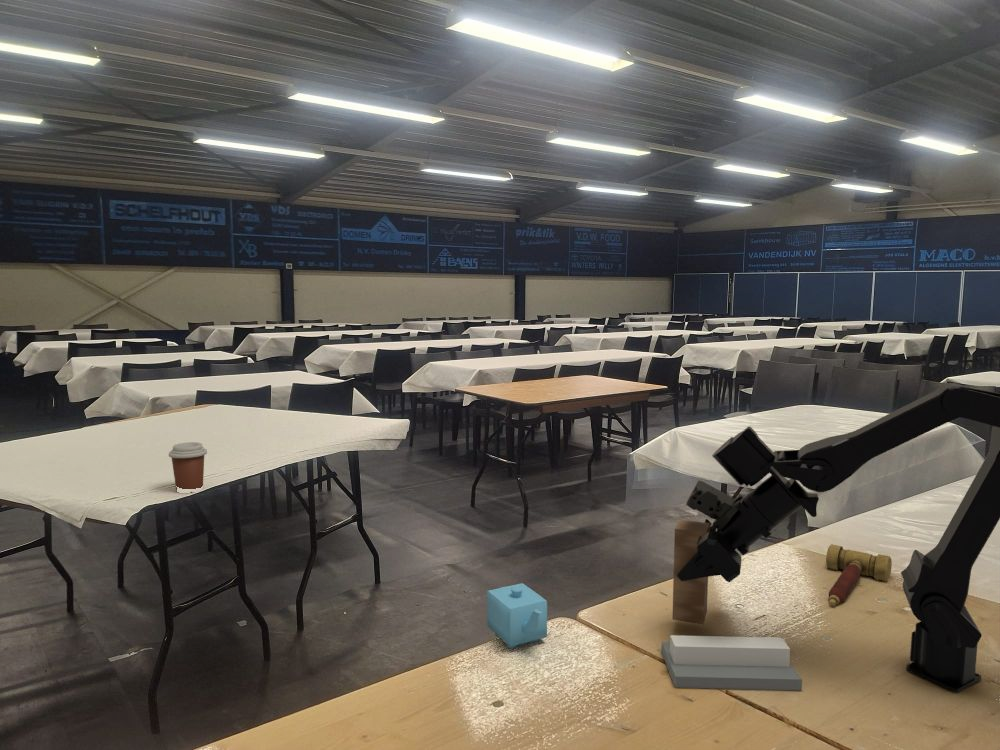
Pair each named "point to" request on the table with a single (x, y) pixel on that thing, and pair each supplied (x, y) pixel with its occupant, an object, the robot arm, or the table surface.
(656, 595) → the table surface
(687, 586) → the walnut post
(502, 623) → the teapot
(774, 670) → the ridge board
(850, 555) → the gavel
